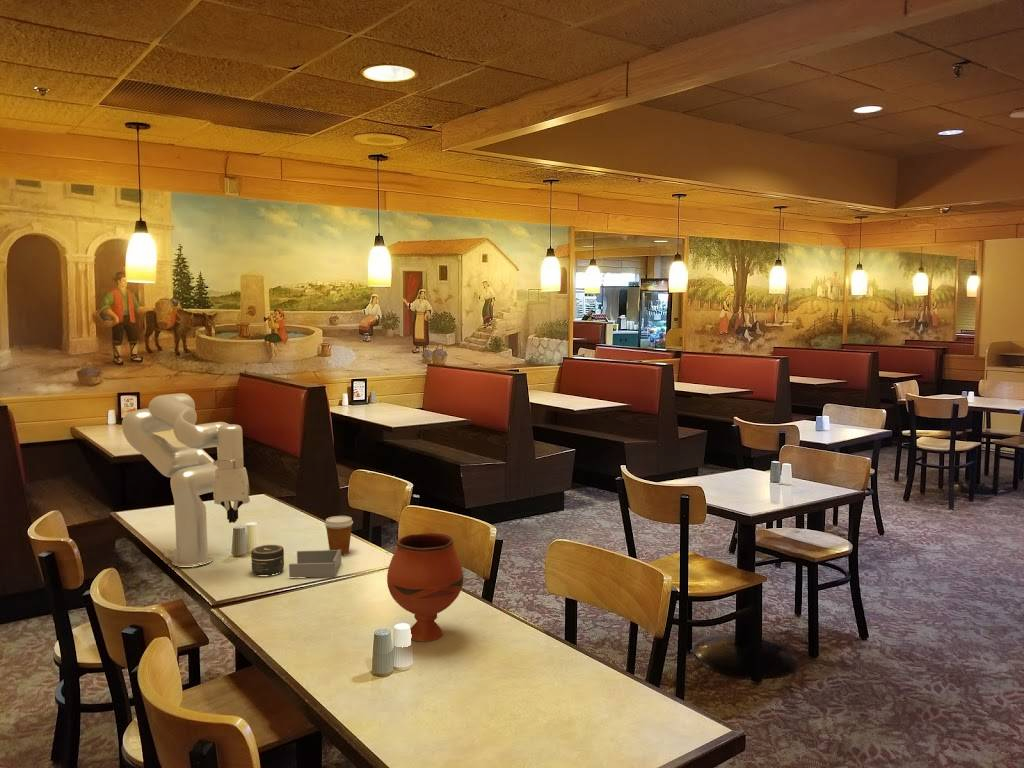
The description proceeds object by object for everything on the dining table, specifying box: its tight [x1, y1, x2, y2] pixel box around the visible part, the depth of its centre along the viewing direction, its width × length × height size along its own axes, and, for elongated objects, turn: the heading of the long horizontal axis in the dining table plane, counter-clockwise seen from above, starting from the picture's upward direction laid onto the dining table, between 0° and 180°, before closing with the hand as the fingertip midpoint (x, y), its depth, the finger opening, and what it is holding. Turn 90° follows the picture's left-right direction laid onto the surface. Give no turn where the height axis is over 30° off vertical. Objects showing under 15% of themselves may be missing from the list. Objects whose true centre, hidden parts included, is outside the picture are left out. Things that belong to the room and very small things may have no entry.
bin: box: [288, 549, 342, 578], centre depth 253 cm, size 14×14×5 cm
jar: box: [250, 544, 285, 576], centre depth 251 cm, size 10×10×8 cm
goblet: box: [386, 532, 464, 642], centre depth 202 cm, size 19×19×25 cm
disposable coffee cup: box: [324, 515, 354, 556], centre depth 271 cm, size 10×10×12 cm
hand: (232, 521), depth 249 cm, fingers closed
